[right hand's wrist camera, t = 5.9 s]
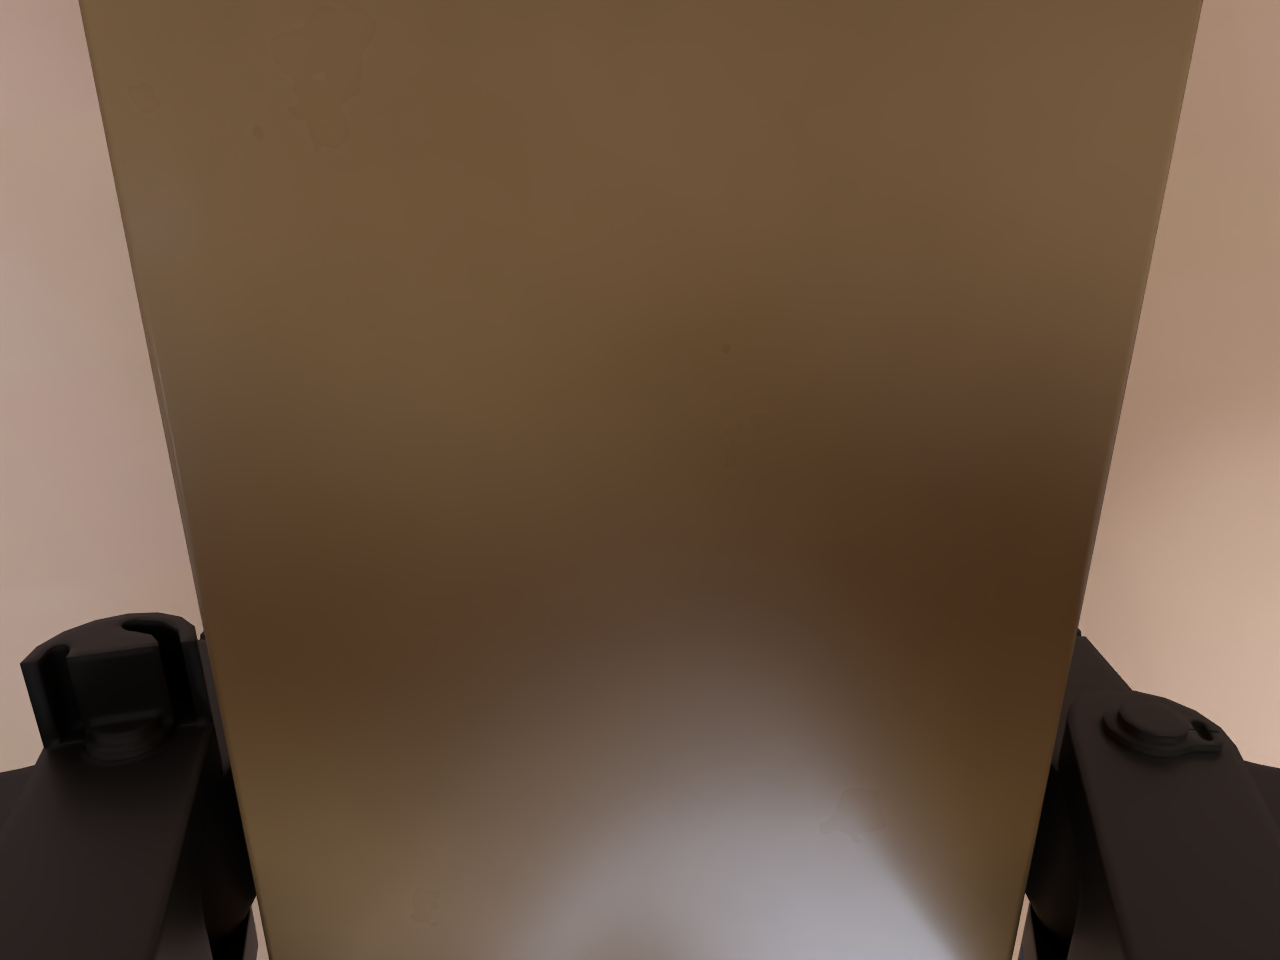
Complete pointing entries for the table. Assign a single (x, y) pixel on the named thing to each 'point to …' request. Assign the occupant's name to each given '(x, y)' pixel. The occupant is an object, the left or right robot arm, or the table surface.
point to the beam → (640, 447)
